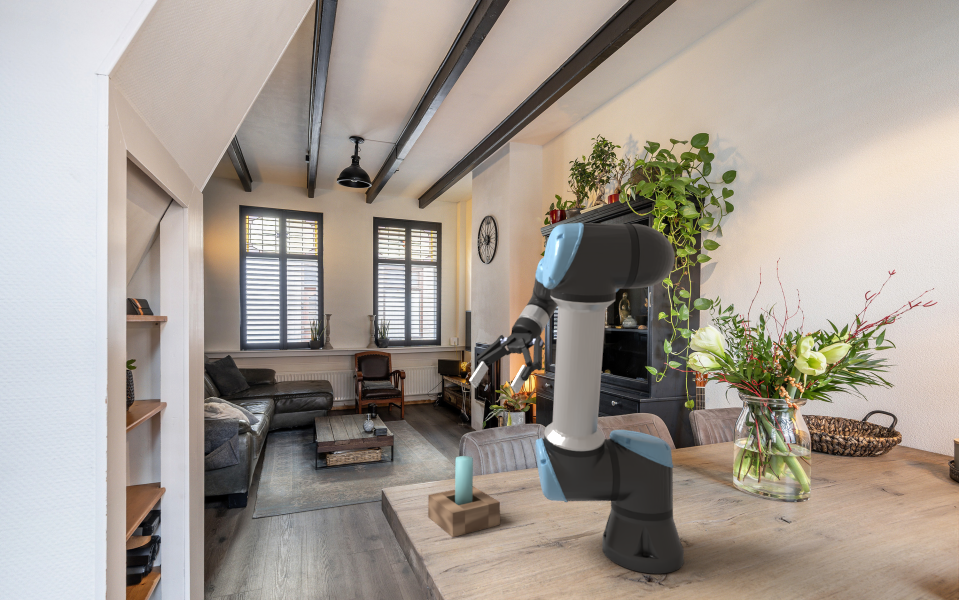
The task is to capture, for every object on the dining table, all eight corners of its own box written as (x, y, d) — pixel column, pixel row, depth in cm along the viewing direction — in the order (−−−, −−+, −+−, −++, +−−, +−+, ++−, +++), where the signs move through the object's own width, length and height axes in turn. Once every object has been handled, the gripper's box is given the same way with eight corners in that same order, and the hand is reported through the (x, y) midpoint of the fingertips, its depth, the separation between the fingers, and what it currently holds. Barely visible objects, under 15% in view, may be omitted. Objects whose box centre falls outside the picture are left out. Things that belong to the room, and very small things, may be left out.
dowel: (475, 521, 105) (476, 459, 105) (460, 525, 102) (460, 462, 103) (466, 515, 108) (467, 455, 109) (451, 519, 106) (452, 457, 107)
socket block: (499, 524, 103) (499, 501, 103) (452, 537, 97) (452, 513, 97) (472, 506, 113) (472, 485, 114) (428, 516, 107) (428, 495, 107)
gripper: (575, 336, 117) (540, 402, 106) (501, 334, 135) (464, 391, 123) (563, 315, 114) (526, 381, 102) (489, 316, 131) (450, 372, 119)
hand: (492, 386), depth 112 cm, fingers open, 13 cm apart
